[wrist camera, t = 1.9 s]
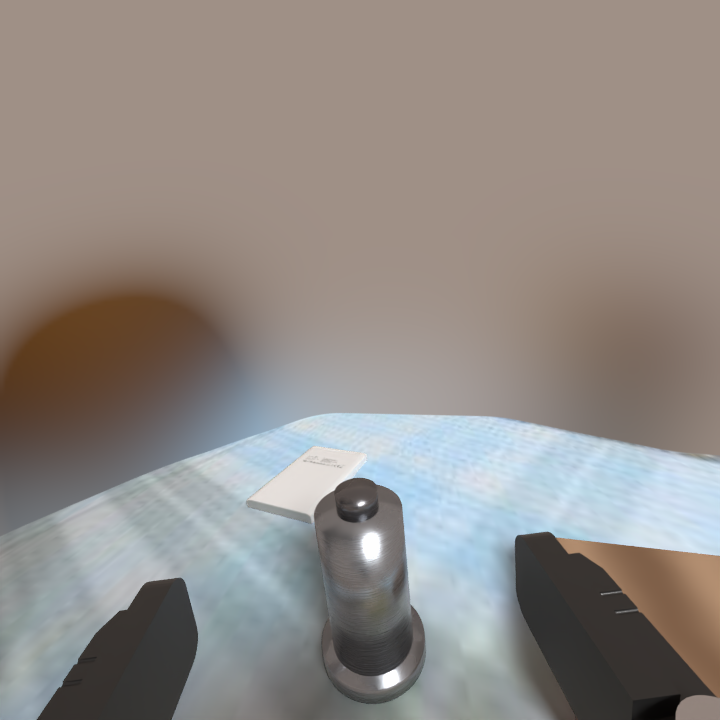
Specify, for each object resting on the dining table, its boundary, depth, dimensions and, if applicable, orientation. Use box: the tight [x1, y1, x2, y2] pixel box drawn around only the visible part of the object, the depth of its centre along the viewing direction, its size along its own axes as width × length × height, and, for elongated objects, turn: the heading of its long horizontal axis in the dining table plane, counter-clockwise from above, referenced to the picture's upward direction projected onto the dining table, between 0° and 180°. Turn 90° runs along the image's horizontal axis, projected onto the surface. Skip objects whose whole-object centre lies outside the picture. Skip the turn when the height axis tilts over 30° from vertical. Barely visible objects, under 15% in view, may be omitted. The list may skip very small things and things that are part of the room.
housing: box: [314, 478, 426, 704], centre depth 22 cm, size 6×6×11 cm
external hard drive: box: [247, 446, 367, 524], centre depth 43 cm, size 2×8×12 cm
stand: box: [556, 538, 720, 720], centre depth 20 cm, size 10×10×4 cm
